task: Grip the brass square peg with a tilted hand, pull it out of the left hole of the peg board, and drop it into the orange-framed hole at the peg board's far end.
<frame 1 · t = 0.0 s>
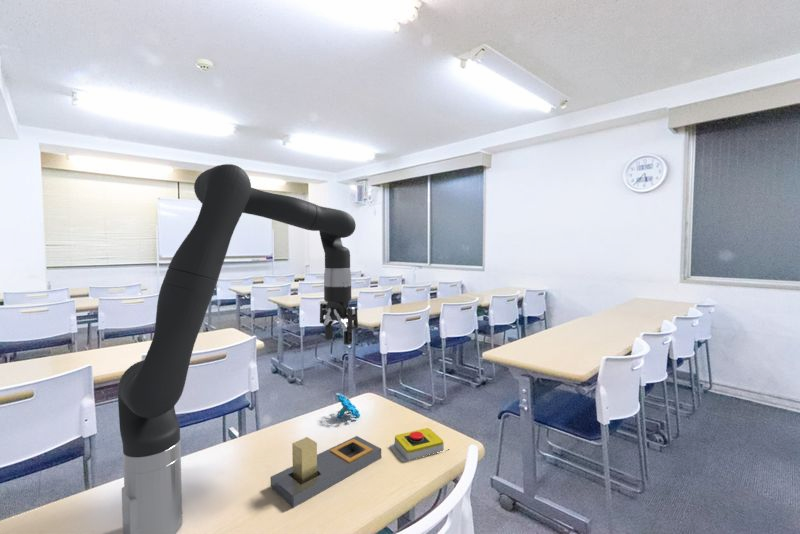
hand: (338, 341, 104), 29 cm above the table, tool pointing down, fingers open, 8 cm apart
gear: (348, 416, 123), on the table
peg board: (329, 471, 92), on the table
brass peg: (305, 484, 87), resting in peg board
emergency button: (419, 450, 103), on the table
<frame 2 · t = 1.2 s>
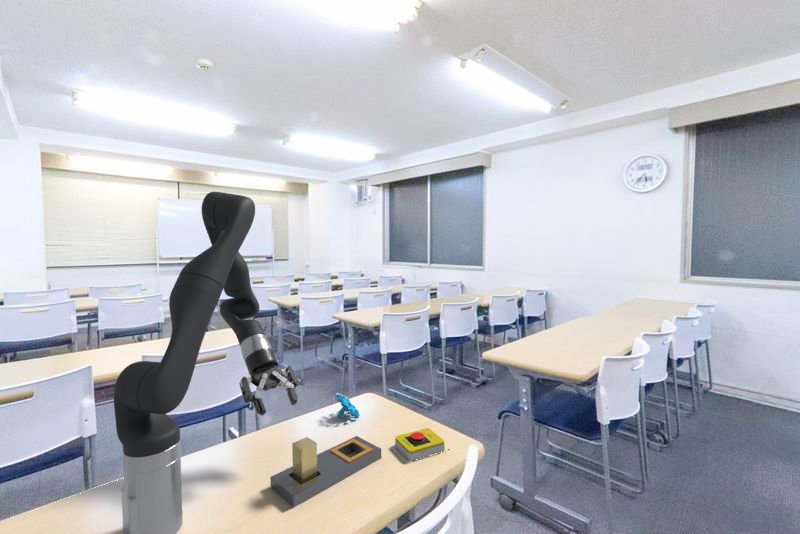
hand: (279, 408, 94), 15 cm above the table, tool tilted 45°, fingers open, 8 cm apart
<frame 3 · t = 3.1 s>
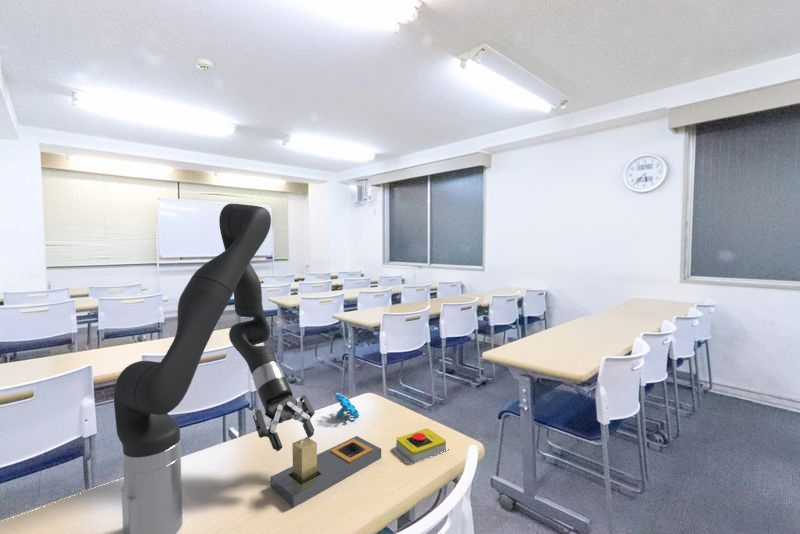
hand: (296, 442, 89), 9 cm above the table, tool tilted 45°, fingers open, 8 cm apart
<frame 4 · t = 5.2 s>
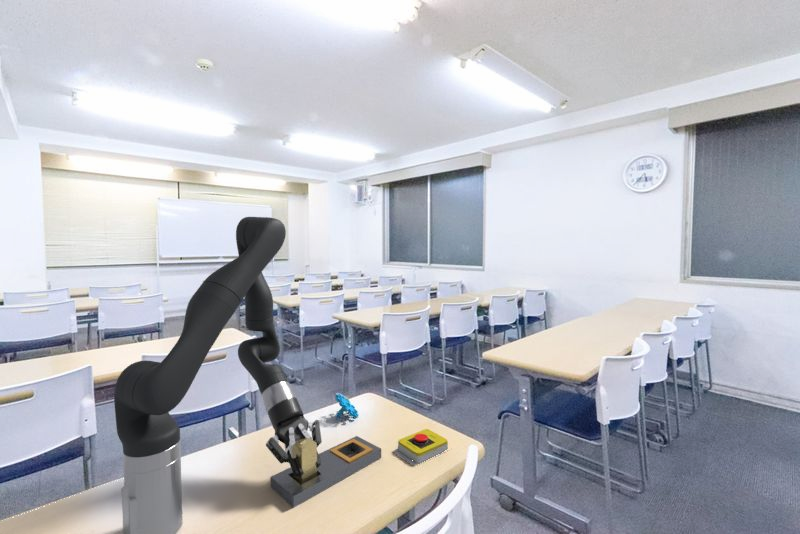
hand: (309, 470, 85), 4 cm above the table, tool tilted 45°, fingers closed on brass peg, 4 cm apart
brass peg: (305, 484, 87), resting in peg board, touching gripper
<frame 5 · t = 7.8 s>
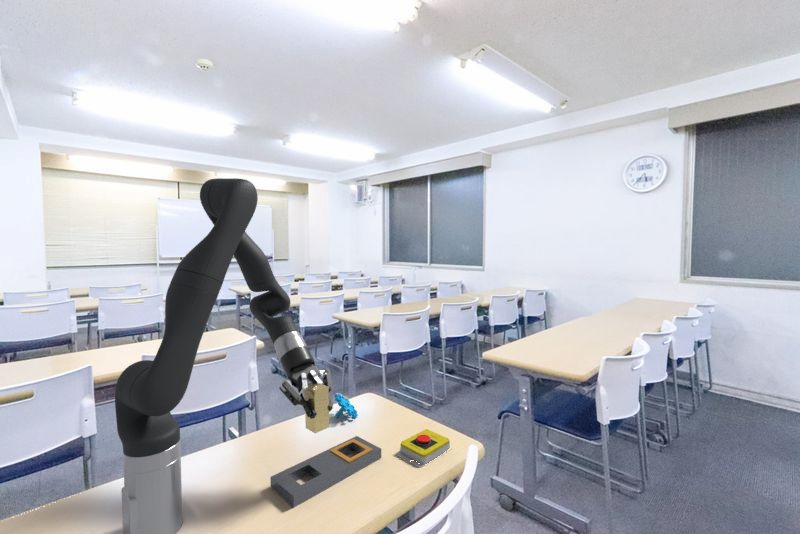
hand: (322, 413, 88), 16 cm above the table, tool tilted 45°, fingers closed on brass peg, 4 cm apart
brass peg: (317, 427, 89), point 12 cm above the table, touching gripper
when the fingers open (5 cm above the table, at t = 10.8 s): brass peg drops 1 cm, resting in peg board.
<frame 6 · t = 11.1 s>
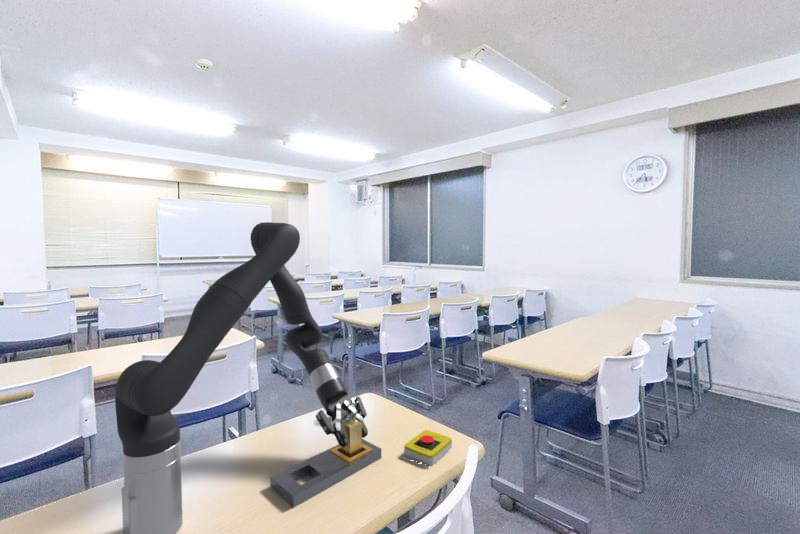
hand: (355, 440, 96), 6 cm above the table, tool tilted 45°, fingers open, 6 cm apart
brass peg: (351, 460, 97), resting in peg board
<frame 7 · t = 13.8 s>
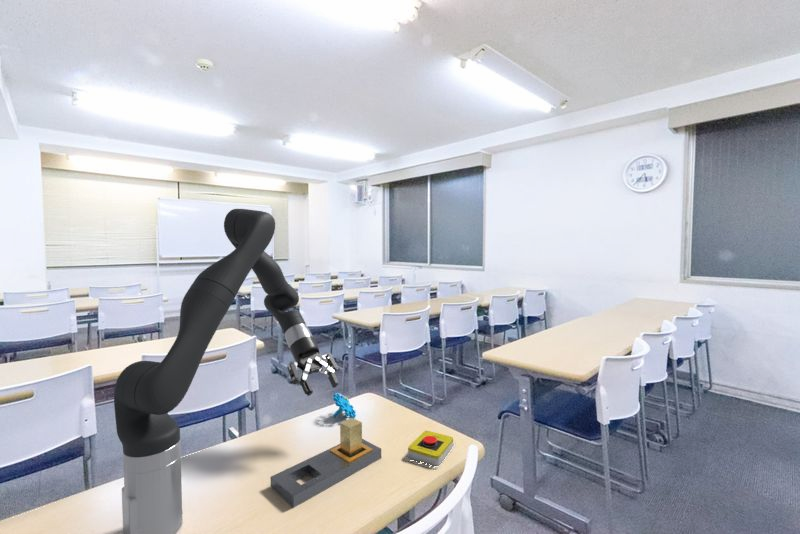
hand: (323, 390, 104), 16 cm above the table, tool tilted 45°, fingers open, 8 cm apart
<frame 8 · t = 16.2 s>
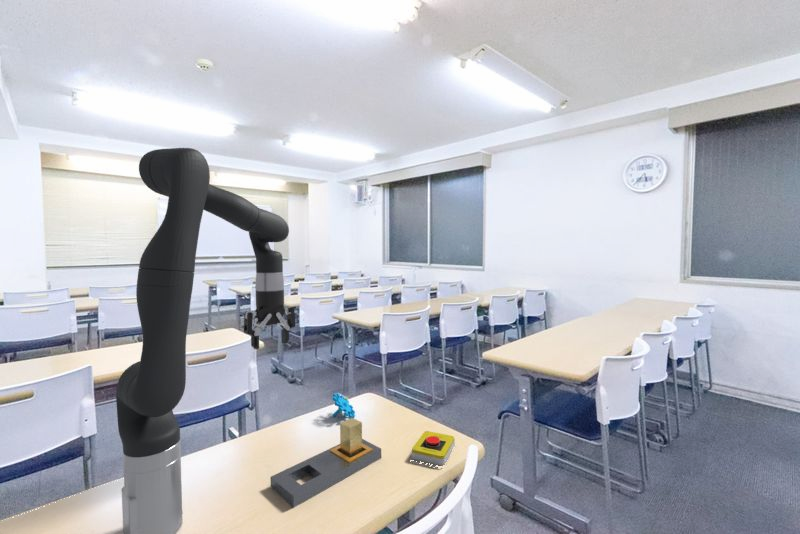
hand: (270, 345, 104), 28 cm above the table, tool pointing down, fingers open, 8 cm apart
at the end: brass peg 0.1 cm from the target spot on the peg board, point 0.0 cm above the peg board's base; brass peg tilted 0°; the gripper is holding nothing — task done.
